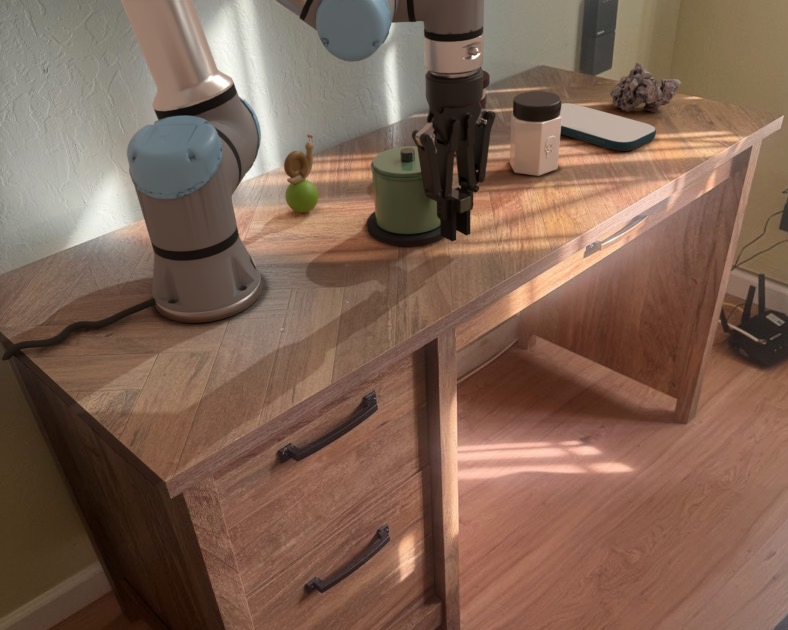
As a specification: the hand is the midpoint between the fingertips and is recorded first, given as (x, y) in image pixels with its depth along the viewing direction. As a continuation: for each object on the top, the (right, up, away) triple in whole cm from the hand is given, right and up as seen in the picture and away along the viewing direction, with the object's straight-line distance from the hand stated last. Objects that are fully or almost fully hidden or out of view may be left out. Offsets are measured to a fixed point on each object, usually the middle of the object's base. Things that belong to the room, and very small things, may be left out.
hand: (455, 234), depth 114 cm
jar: (+16, +17, +24) cm, 33 cm away
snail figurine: (-24, +7, +15) cm, 29 cm away
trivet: (-6, +3, +9) cm, 11 cm away
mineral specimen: (+41, +35, +43) cm, 69 cm away
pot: (-4, +2, +5) cm, 7 cm away
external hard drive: (+29, +27, +35) cm, 53 cm away
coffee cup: (+4, +23, +32) cm, 40 cm away
